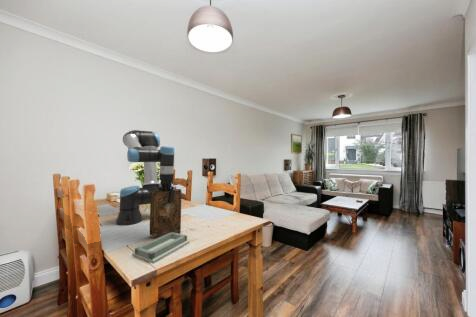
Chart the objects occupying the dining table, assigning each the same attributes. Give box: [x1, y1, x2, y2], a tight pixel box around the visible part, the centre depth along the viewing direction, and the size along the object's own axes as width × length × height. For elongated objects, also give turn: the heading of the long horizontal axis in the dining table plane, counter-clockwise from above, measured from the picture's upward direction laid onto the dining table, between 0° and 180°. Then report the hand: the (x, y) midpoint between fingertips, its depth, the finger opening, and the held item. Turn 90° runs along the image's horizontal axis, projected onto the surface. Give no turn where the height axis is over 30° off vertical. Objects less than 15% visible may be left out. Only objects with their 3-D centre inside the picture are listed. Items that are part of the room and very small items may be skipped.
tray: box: [131, 232, 190, 264], centre depth 95 cm, size 14×22×3 cm, turn 153°
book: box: [149, 188, 182, 239], centre depth 112 cm, size 16×6×25 cm, turn 125°
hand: (165, 214), depth 112 cm, fingers closed
